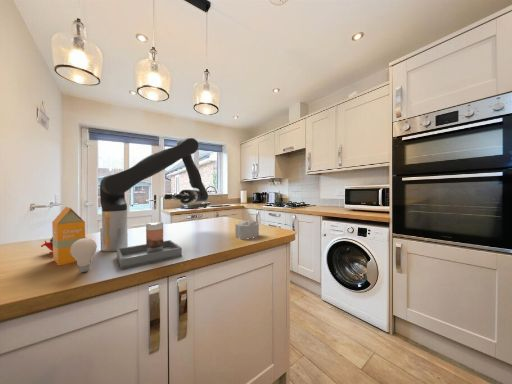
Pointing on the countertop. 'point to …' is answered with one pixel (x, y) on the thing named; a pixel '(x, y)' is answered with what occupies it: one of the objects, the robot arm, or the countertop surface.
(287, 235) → the countertop surface
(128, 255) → the tote
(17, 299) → the countertop surface
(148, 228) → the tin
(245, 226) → the grey rough block
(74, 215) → the orange juice
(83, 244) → the light bulb
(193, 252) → the countertop surface
